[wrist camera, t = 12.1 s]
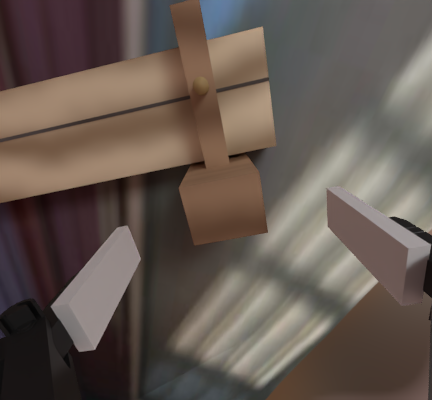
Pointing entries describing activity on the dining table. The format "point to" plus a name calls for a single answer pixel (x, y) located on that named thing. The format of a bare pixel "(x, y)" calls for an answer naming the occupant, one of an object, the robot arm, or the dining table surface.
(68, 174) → the board
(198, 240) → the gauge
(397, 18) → the dining table surface
